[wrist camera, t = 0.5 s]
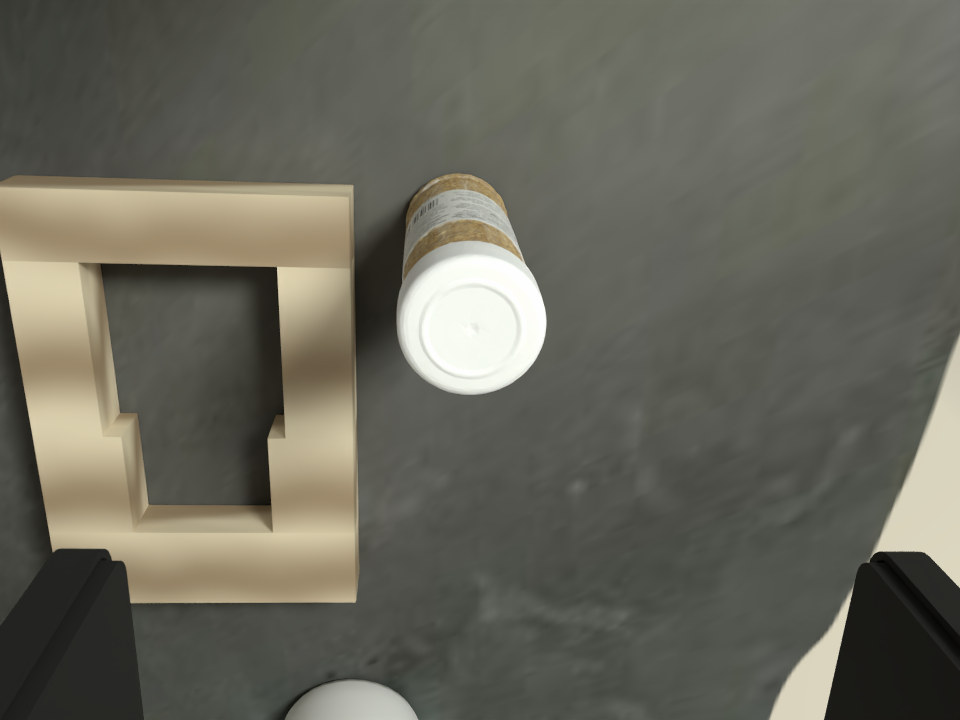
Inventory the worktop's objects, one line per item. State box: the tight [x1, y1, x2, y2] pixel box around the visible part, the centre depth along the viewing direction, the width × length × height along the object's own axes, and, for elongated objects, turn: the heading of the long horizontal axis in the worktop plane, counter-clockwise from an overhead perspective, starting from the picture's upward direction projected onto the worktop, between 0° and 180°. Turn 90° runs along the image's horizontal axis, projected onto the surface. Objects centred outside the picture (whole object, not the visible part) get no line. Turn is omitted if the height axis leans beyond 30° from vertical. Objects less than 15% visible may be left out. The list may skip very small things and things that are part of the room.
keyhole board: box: [0, 175, 359, 603], centre depth 40 cm, size 20×14×2 cm
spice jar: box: [397, 173, 546, 395], centre depth 32 cm, size 5×5×14 cm
